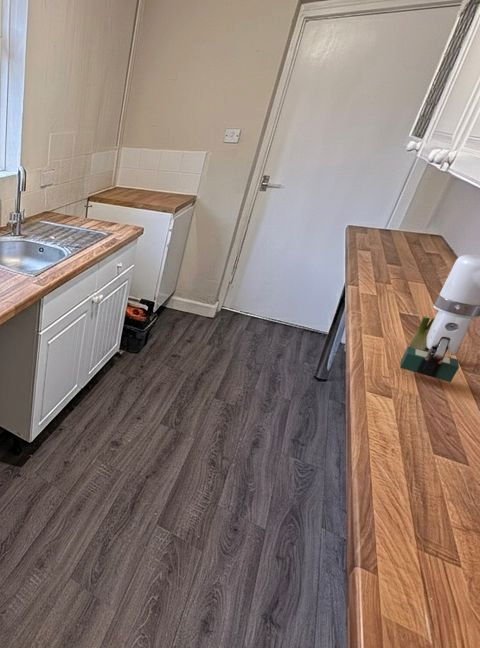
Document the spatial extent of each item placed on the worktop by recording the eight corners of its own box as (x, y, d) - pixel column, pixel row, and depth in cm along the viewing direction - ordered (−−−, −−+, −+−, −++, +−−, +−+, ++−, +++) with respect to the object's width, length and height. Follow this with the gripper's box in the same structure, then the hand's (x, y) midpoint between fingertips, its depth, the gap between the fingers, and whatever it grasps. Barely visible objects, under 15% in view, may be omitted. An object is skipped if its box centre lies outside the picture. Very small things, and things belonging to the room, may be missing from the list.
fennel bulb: (405, 353, 119) (423, 316, 114) (405, 346, 122) (423, 310, 118) (434, 360, 115) (454, 323, 111) (433, 354, 119) (452, 317, 114)
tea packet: (449, 374, 105) (458, 359, 103) (450, 382, 102) (459, 366, 100) (400, 360, 111) (407, 346, 109) (400, 368, 108) (407, 353, 106)
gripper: (485, 322, 91) (448, 390, 98) (478, 300, 102) (445, 362, 109) (436, 312, 96) (404, 377, 103) (435, 292, 107) (405, 352, 114)
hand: (425, 369), depth 106 cm, fingers closed on tea packet, 5 cm apart
